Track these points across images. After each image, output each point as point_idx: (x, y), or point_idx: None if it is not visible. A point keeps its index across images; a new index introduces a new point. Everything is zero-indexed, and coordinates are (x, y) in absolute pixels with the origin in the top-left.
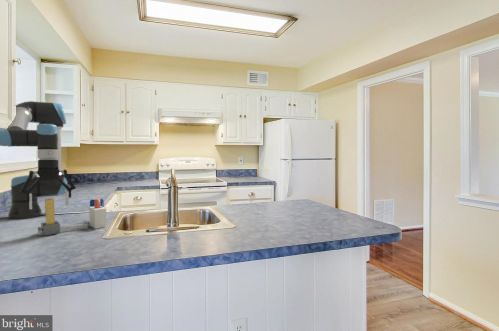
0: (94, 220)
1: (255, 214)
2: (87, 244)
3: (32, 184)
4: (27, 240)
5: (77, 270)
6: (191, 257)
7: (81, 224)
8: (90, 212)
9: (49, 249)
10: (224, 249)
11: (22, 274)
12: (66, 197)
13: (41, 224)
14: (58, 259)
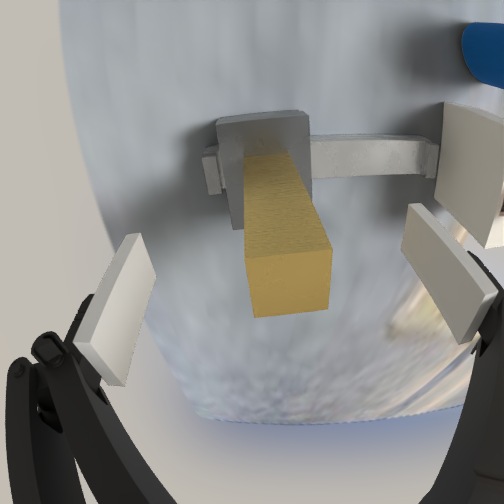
0: (454, 208)
1: None
2: (337, 354)
3: (76, 460)
4: (177, 237)
5: (282, 423)
6: (398, 417)
7: (410, 163)
8: (487, 145)
9: (252, 353)
10: (437, 405)
11: (217, 415)
12: (434, 286)
13: (219, 148)
14: (265, 397)
